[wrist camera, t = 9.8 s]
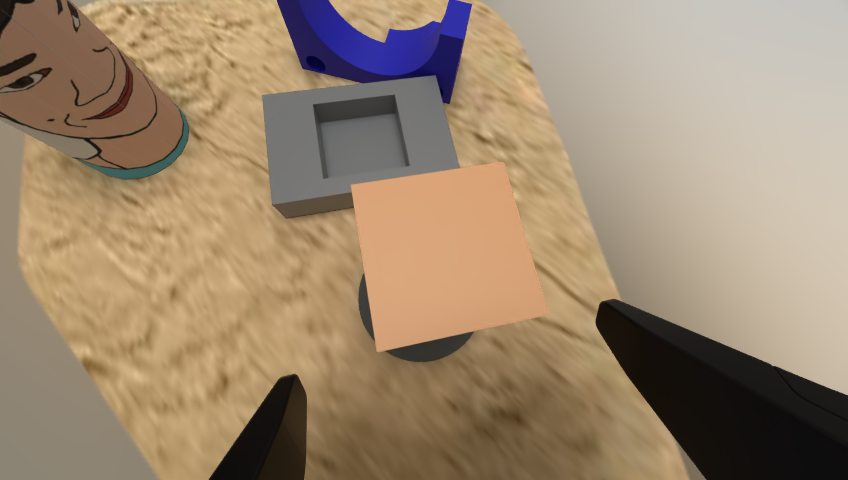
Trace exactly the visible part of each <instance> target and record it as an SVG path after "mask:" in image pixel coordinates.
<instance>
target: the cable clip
mask: <svg viewBox="0 0 848 480" xmlns="http://www.w3.org/2000/svg"><path fill="white" fill-rule="evenodd" d="M277 2H278V5H279V8H280V10H281V13H282V16H283V18H284V21H285V24H286V26H287V29H288V31H289V34H290V37H291V39H292V42H293V45H294V47H295V50H296V52H297V55H298V58H299V60H300V63H301V66H302V68H303V69H307V70H311V71H315V72H319V73H323V74H327V75H332V76H336V77H340V78H344V79H348V80H352V81H356V82H361V83H372V82H381V81H390V80H398V79H407V78H416V77H424V76H433V75H436V78H437V82H438V86H439V90H440V94H441V98H442V101H443V102H444V103H448V104H450V100H451V95H452V91H453V87H454V83H455V79H456V75H457V70H458V66H459V62H460V58H461V53H462V49H463V44H464V40H465V35H466V31H467V25H468V20H469V16H470V11H471V7H472V4H469V3H465V2H461V1H457V0H449V2H448V6H447V10H446V13H445V16H444V18H443V20H442V21H441V23H439V22H435V21H432V22H430V23H429V24H427V25H425V26H423V27H420V28H417V29H413V30H393V29H389V32H388V35H387V38H386V41H385V43H382V42H379V41H376V40H374V39H372V38H369V37H367V36H366V35H364V34H362V33H361V32H359V31H357V30H356V29H355V28H353V27H352V26H351V25H350V24H349V23H347V22H346V21H345V20H344V19H343V18H342V17H341V16H340V15H339V13H338V12H337V11H336V10H335V9H334V7H333V6H332V5H331V3H330V2H329V0H277Z"/></svg>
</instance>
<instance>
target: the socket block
mask: <svg viewBox="0 0 848 480" xmlns="http://www.w3.org/2000/svg"><path fill="white" fill-rule="evenodd" d="M262 99H263V110H264V121H265V132H266V143H267V154H268V165H269V177H270V188H271V199H272V205H273V206H274V207H275V208H276V209H277V210H278V211H279V212H280V213H281V214H282V215H283V216H285V217H286V218H291V217H297V216H304V215H310V214H316V213H322V212H328V211H334V210H340V209H346V208H353V207H354V203H353V196H352V190H351V185H353V184H359V183H366V182H373V181H379V180H386V179H392V178H399V177H406V176H412V175H419V174H425V173H432V172H439V171H445V170H452V169H459V168H460V167H459V163H458V159H457V155H456V152H455V148H454V144H453V140H452V136H451V132H450V128H449V125H448V121H447V117H446V113H445V109H444V105H443V101H442V98H441V94H440V90H439V86H438V82H437V78H436V75H433V76H424V77H416V78H407V79H398V80H390V81H381V82H372V83H364V84H355V85H346V86H338V87H329V88H320V89H312V90H303V91H294V92H285V93H277V94H268V95H262Z"/></svg>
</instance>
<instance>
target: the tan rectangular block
mask: <svg viewBox="0 0 848 480" xmlns="http://www.w3.org/2000/svg"><path fill="white" fill-rule="evenodd" d="M351 190H352V196H353V203H354V209H355V215H356V222H357V228H358V235H359V241H360V247H361V254H362V260H363V267H364V273H365V279H366V286H367V292H368V299H369V305H370V311H371V318H372V324H373V330H374V337H375V343H376V350H377V352H381V351H386V350H390V349H395V348H399V347H404V346H409V345H413V344H418V343H422V342H427V341H431V340H436V339H441V338H445V337H450V336H454V335H459V334H463V333H468V332H473V331H477V330H482V329H486V328H491V327H495V326H500V325H505V324H509V323H514V322H518V321H523V320H527V319H532V318H537V317H541V316H546V315H549V313H548V310H547V306H546V303H545V300H544V296H543V293H542V290H541V286H540V283H539V279H538V276H537V273H536V269H535V266H534V263H533V259H532V256H531V252H530V249H529V246H528V242H527V239H526V236H525V232H524V229H523V225H522V222H521V219H520V215H519V212H518V209H517V205H516V202H515V199H514V195H513V192H512V188H511V185H510V182H509V178H508V175H507V172H506V168H505V165H504V162H498V163H492V164H485V165H478V166H472V167H465V168H459V169H452V170H445V171H439V172H432V173H425V174H419V175H412V176H406V177H399V178H392V179H386V180H379V181H373V182H366V183H359V184H353V185H351Z"/></svg>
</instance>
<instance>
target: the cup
mask: <svg viewBox="0 0 848 480" xmlns="http://www.w3.org/2000/svg"><path fill="white" fill-rule="evenodd" d="M0 120H1V121H3V122H5V123H7V124H9V125H11V126H13V127H15V128H17V129H19V130H21V131H23V132H24V133H26V134H28V135H30V136H32V137H34V138H36V139H38V140H40V141H42V142H44V143H46V144H48V145H50V146H52V147H54V148H55V149H57V150H59V151H61V152H63V153H65V154H67V155H69V156H71V157H73V158H75V159H77V160H79V161H81V162H83V163H85V164H87V165H88V166H90V167H92V168H94V169H96V170H98V171H100V172H102V173H104V174H106V175H108V176H111V177H116V178H120V179H138V178H143V177H146V176H149V175H153V174H156V173H158V172H159V171H161V170H163V169H164V168H166V167H167V166H169V165H171V164H172V163H173V162H174V161H175V159H176V158H177V157H178V156H179V155H180V154H181V153H182V151H183V149H184V147H185V145H186V143H187V141H188V132H189V126H188V123H187V120H186V116H185V115H184V114H183V113H182V111H181V110H180V109H179V108H178V107H177V106H176V105H175V104H174V103H173V102H172V101H171V100H170V99H169V98H168V97H167V96H166V95H165V94H164V93H163V92H162V91H161V90H160V89H159V88H158V87H157V86H156V85H155V84H154V83H153V82H152V81H151V80H150V79H149V78H148V77H147V76H146V75H145V74H144V73H143V72H142V71H141V70H140V69H139V68H138V67H137V66H136V65H135V64H134V63H133V62H132V61H131V60H130V59H129V58H128V57H127V56H126V55H125V54H124V53H123V52H122V51H121V50H120V49H119V48H118V47H117V46H116V45H115V44H114V43H113V42H112V41H111V40H110V39H109V38H108V37H107V36H106V35H105V34H104V33H102V32H101V31H100V30H99V29H98V28H97V27H96V26H95V25H94V24H93V23H92V22H91V21H90V20H89V19H88V18H87V17H86V16H85V15H84V14H83V13H82V12H81V11H80V10H79V9H78V8H77V7H76V6H75V5H74V4H73V3H72V2H71V1H70V0H0Z"/></svg>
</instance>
